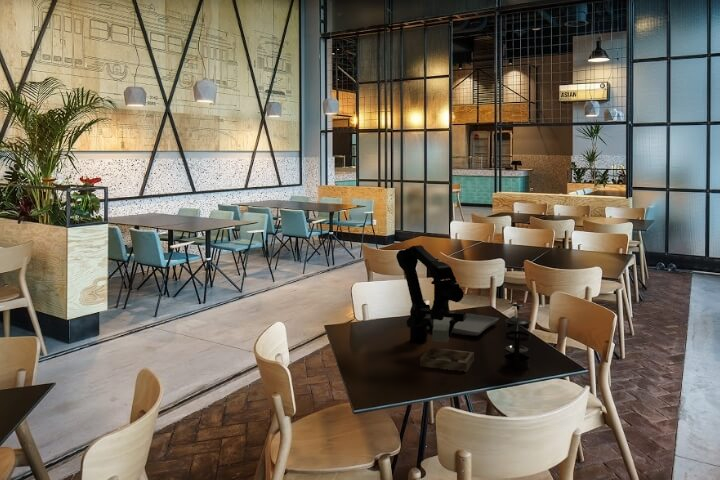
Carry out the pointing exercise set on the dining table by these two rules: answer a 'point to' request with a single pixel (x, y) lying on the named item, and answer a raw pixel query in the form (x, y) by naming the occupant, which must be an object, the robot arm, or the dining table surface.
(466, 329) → the square plate
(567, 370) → the dining table surface
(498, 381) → the dining table surface
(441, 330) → the grey faceted block
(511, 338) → the french press
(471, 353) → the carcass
